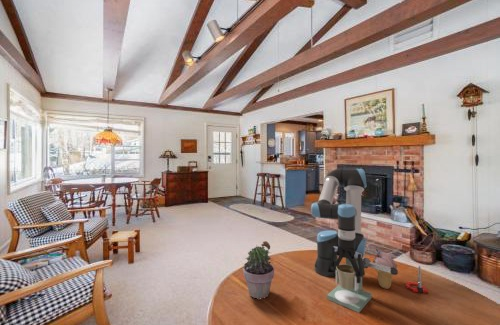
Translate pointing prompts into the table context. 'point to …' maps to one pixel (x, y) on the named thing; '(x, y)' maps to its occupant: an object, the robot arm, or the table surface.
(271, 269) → the potted plant
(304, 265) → the table surface
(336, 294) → the press
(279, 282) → the table surface
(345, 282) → the flower pot
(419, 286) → the tow hook
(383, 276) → the ice cream cone
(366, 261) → the lever
